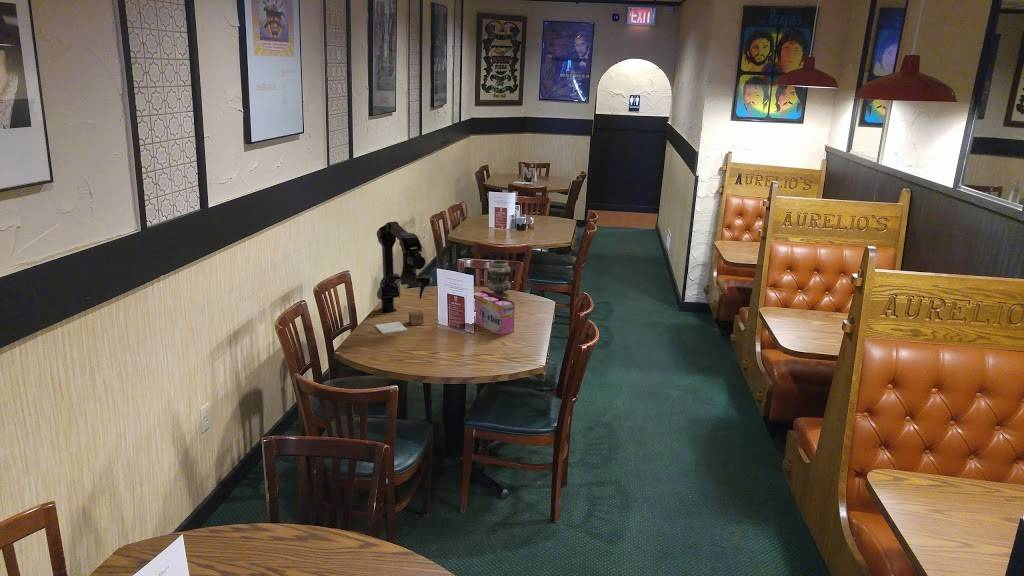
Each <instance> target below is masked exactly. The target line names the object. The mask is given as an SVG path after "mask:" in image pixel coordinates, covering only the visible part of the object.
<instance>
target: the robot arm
mask: <svg viewBox="0 0 1024 576" xmlns="http://www.w3.org/2000/svg"><path fill="white" fill-rule="evenodd" d="M376 237H377V241H378V243H379V245H380V246H381V251H382V253H381V254H382V257H381V258H382V279H381V281H380V282H379V288H378V290H377V292H376V297H377V298H378V299H379V300H380V301H381V307H379V310H380V311H381V312H383V313H391V312H397V309H396V307H395V298H399V299H400V298H401V286H402V285H403V286H404V285H407V286H411V285H413V283H414V282H415V283H417V282H418V283H420V285H419V288H420V289H419V300H421V299H422V296H423V293H424V291H425V288H426V287H428V286H431V284H432V282H433V277H432V275H430V274H429V275H427V274H423V275H422V276H420V277H419V276H418V275H417V270H421V269H423V268H424V267H425V266H426V262H427V261H426V259H425V257H423V256H422V252H423V250H422V248H423V247H422V244H421V241H420V239H419V237H418V235H417V234H415V233H413V232H408V231H407V230H405V228H403V226H401V225H400V224H399V221H388V222H386V223H385V224H384V225H382V226H380V227H379V229H378V230H377V232H376ZM397 240H398V241H399V244H398V245H399V246H400V248H401V252H402V271H401V274H400V273H394V252H393V250H394V245H395V243H397ZM399 274H400V275H399Z"/></svg>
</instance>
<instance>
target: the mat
mask: <svg viewBox="0 0 1024 576" xmlns="http://www.w3.org/2000/svg"><path fill="white" fill-rule="evenodd" d="M374 326H375V328H376V329H378V331H379V332H380V333H381V334H382V335H388V334H394V333H399V332H407V331H408V329H407V328H406V326H404V325H403V324H402V323H401V322H400V321H394V322H387V323H379V324H375V325H374Z"/></svg>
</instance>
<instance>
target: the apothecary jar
mask: <svg viewBox="0 0 1024 576" xmlns="http://www.w3.org/2000/svg"><path fill="white" fill-rule="evenodd" d="M487 271H488V273H489V281H488V282H487V283H486V286H487V288H488V289H489V291H492V292H491V293H492V294H494V295H497V296H499V297H501V298H503V297H507V296H508V295H509V293H507V291H509V289H511V288H512V284H511V282H510V281H509V280H510V279H509V274H510V273H511V271H512V268H511V266H510V265H509V262H508V261H506V260H504V259H503V260H501V259H495V260H491V261H490V265H489V266H487ZM508 297H509V296H508ZM508 297H507V298H508Z"/></svg>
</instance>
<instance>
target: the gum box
mask: <svg viewBox="0 0 1024 576" xmlns="http://www.w3.org/2000/svg"><path fill="white" fill-rule="evenodd" d="M492 293H493V292H488V291H486V290H480V291H479V292H474V293H473V294H474V299H475V312H476V323H477V324H479V325H478V326H480V327H481V328H484V329H485V330H488V331H491V332H492V333H495V334H497V335H498V336H503V335H507V334H510V333H514V332H515V311H516V310H515V309H516V308H515V307H516V302H514V301H512V300H509V299H507V298H501V297H499V296H497V295H494V294H492ZM477 324H476V325H477Z"/></svg>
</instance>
